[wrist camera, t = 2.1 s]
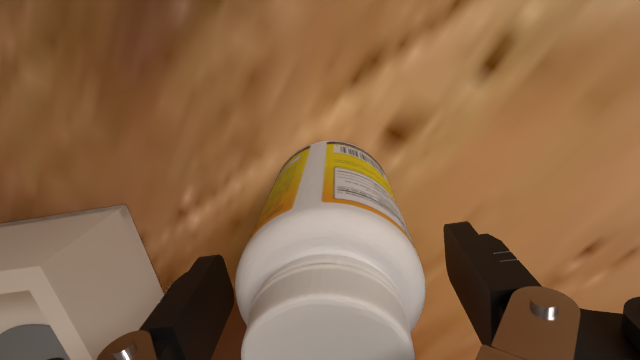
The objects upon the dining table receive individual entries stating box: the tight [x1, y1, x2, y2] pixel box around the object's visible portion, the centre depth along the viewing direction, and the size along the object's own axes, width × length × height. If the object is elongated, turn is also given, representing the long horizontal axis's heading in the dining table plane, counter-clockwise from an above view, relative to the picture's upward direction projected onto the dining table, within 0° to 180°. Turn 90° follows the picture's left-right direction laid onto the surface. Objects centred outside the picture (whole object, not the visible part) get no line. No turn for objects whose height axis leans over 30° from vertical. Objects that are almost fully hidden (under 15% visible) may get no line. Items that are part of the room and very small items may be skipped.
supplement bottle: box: [235, 141, 425, 360], centre depth 12 cm, size 6×6×10 cm
